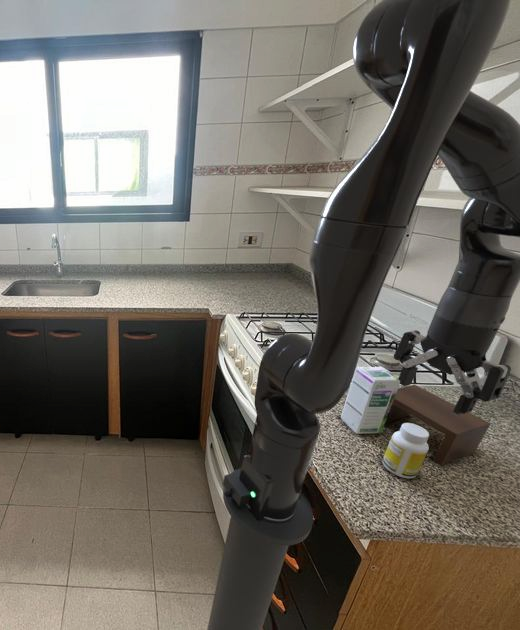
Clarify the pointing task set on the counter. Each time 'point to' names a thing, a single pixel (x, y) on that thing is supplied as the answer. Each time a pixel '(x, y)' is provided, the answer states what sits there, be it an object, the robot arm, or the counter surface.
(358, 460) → the counter surface
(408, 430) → the supplement bottle
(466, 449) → the brown wooden arch block
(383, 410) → the syrup box
